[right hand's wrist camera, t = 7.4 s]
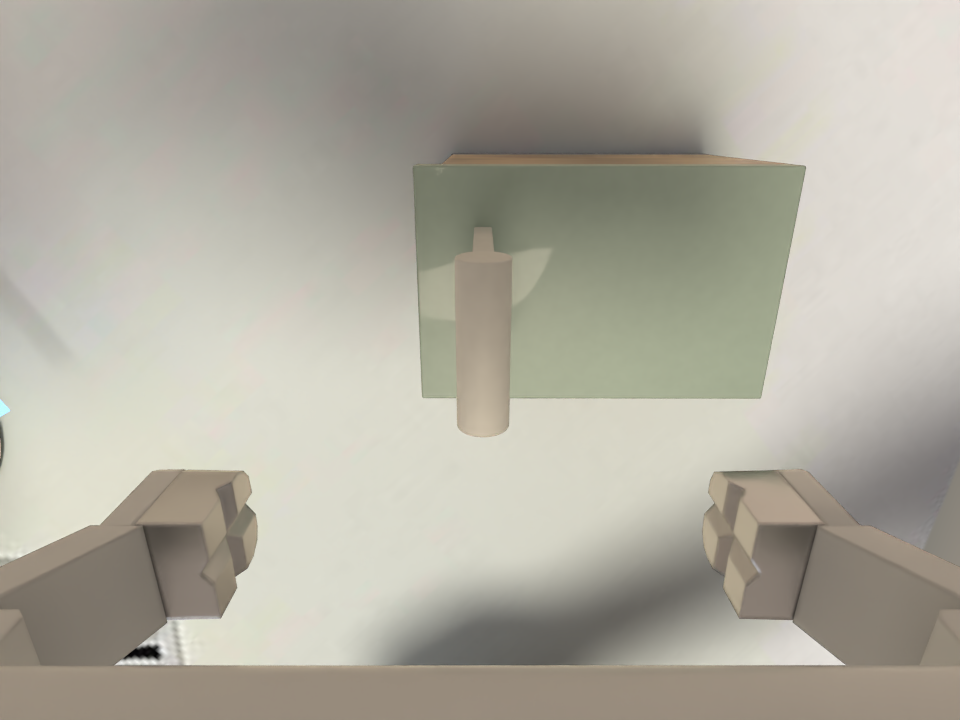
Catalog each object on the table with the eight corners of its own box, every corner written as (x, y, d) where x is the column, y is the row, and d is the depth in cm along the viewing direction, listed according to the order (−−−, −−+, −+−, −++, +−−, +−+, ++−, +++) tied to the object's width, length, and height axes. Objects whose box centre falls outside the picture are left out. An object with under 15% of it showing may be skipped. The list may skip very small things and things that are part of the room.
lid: (424, 387, 27) (400, 495, 19) (416, 163, 23) (381, 181, 15) (749, 388, 27) (862, 496, 19) (791, 164, 23) (952, 181, 15)
